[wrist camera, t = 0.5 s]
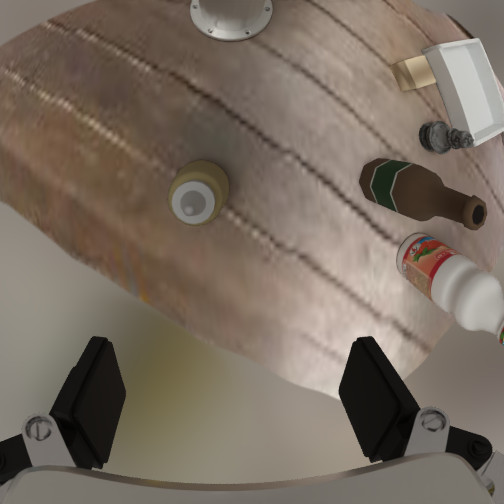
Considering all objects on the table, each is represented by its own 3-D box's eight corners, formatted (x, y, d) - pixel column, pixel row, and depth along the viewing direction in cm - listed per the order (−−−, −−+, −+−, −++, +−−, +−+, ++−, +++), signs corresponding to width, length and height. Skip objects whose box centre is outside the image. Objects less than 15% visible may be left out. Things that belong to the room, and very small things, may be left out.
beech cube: (389, 65, 39) (404, 60, 34) (409, 60, 39) (424, 55, 34) (401, 91, 41) (417, 88, 36) (420, 85, 40) (436, 82, 36)
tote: (421, 50, 38) (437, 44, 33) (464, 41, 37) (479, 38, 32) (457, 145, 45) (474, 147, 40) (494, 126, 43) (510, 127, 39)
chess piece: (417, 119, 43) (461, 117, 31) (440, 124, 43) (485, 125, 32) (417, 150, 45) (461, 156, 33) (440, 154, 45) (484, 161, 34)
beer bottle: (358, 205, 47) (451, 256, 25) (356, 158, 45) (456, 178, 22) (396, 201, 48) (495, 245, 25) (395, 157, 45) (501, 177, 22)
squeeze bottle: (188, 150, 42) (165, 154, 25) (238, 171, 44) (246, 187, 27) (168, 200, 44) (136, 233, 27) (217, 219, 46) (212, 263, 29)
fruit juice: (389, 276, 53) (482, 366, 26) (402, 229, 50) (514, 299, 23) (425, 278, 54) (514, 356, 28) (437, 235, 51) (542, 298, 24)
